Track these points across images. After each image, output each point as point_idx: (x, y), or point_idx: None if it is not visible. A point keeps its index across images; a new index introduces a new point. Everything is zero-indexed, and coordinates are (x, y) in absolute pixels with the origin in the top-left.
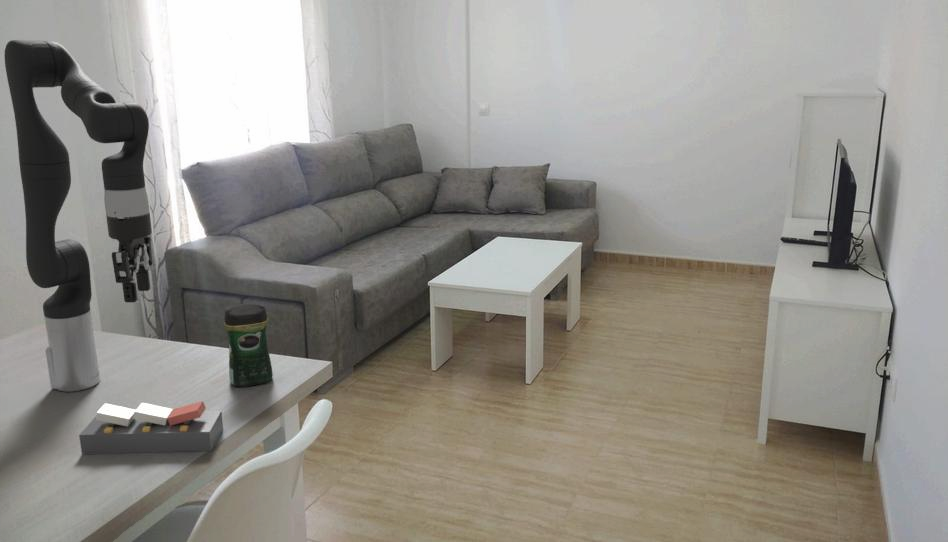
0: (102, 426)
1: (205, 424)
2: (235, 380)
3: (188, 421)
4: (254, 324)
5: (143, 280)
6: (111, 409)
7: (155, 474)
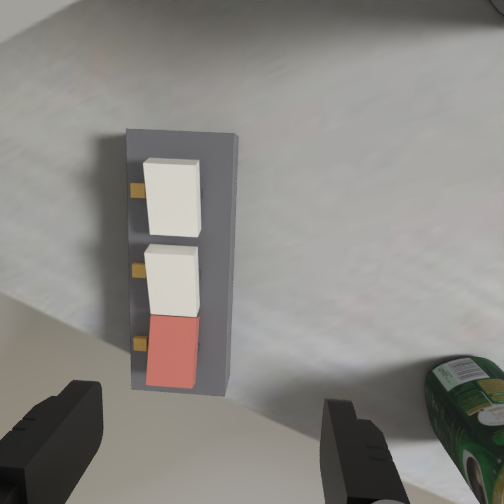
0: None
1: None
2: (432, 381)
3: None
4: None
5: (329, 490)
6: (172, 188)
7: (66, 293)
